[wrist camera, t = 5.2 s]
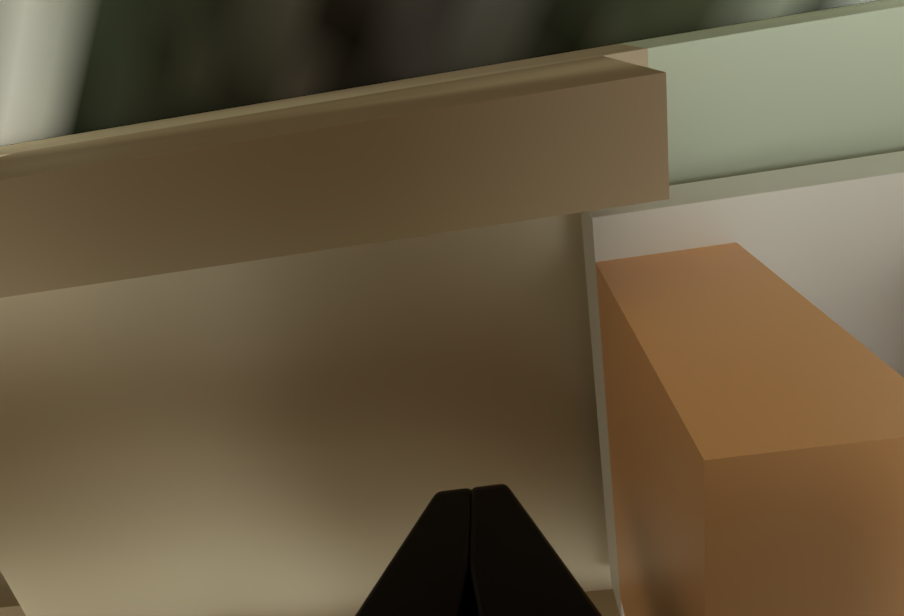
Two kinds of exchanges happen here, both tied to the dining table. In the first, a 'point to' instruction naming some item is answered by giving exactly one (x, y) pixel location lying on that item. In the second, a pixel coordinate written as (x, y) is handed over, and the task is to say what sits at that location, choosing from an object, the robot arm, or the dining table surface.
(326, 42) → the dining table surface
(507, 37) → the dining table surface
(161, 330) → the deck
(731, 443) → the sled
